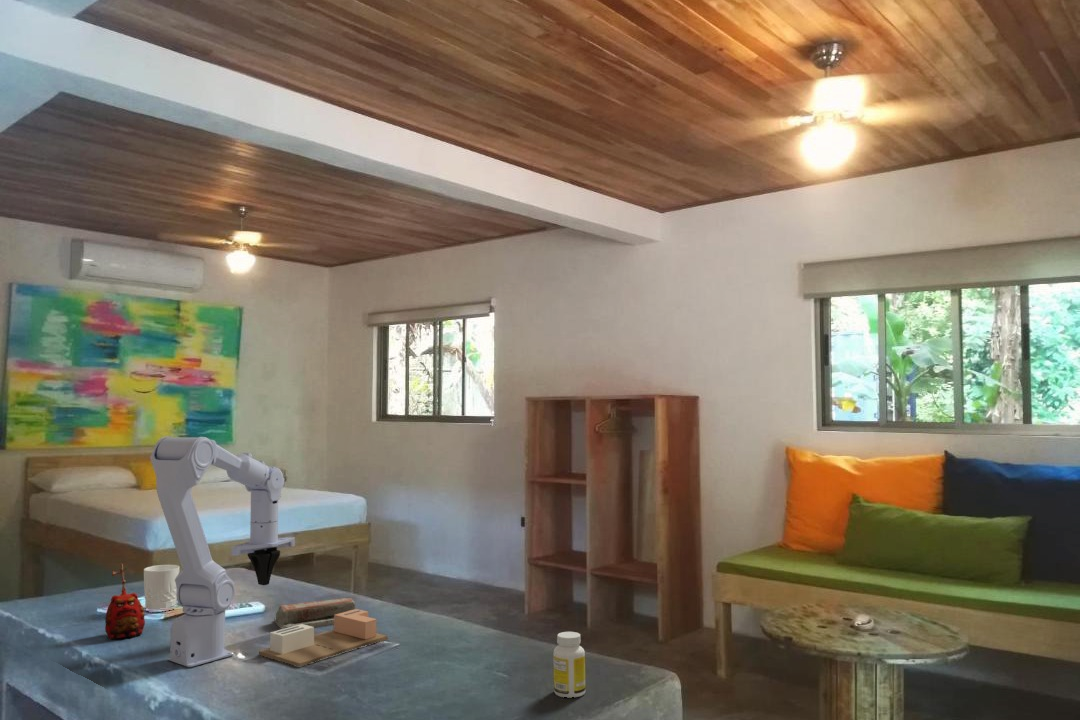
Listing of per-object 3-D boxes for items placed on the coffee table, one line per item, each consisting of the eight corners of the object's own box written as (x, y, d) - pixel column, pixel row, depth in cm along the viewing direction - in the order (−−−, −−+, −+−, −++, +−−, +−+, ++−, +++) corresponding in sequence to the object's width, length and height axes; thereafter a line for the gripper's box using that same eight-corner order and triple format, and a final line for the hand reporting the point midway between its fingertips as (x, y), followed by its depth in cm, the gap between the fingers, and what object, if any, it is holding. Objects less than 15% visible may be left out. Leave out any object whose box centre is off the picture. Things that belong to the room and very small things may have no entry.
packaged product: (283, 611, 175) (273, 602, 183) (282, 634, 174) (273, 623, 183) (363, 600, 183) (351, 592, 192) (363, 622, 183) (351, 612, 192)
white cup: (145, 606, 197) (146, 565, 197) (180, 604, 199) (181, 563, 200) (140, 615, 189) (141, 572, 190) (176, 612, 192) (177, 569, 192)
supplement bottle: (584, 687, 140) (583, 630, 140) (586, 698, 134) (586, 639, 135) (552, 687, 139) (552, 630, 140) (554, 699, 134) (554, 639, 135)
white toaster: (282, 654, 156) (282, 635, 157) (270, 650, 159) (270, 631, 159) (314, 644, 162) (314, 626, 163) (301, 641, 165) (301, 623, 165)
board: (299, 667, 151) (299, 663, 151) (258, 655, 158) (258, 650, 158) (387, 639, 168) (387, 635, 168) (346, 629, 176) (346, 625, 176)
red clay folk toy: (108, 642, 167) (110, 570, 168) (101, 635, 173) (102, 565, 173) (147, 635, 172) (149, 565, 173) (139, 629, 178) (141, 560, 178)
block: (365, 639, 165) (365, 621, 166) (334, 631, 171) (334, 614, 172) (387, 632, 170) (387, 615, 170) (356, 625, 176) (356, 608, 176)
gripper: (244, 527, 167) (243, 593, 166) (303, 518, 178) (302, 580, 178) (226, 524, 171) (225, 588, 171) (284, 516, 183) (284, 576, 182)
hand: (263, 584), depth 174 cm, fingers closed
